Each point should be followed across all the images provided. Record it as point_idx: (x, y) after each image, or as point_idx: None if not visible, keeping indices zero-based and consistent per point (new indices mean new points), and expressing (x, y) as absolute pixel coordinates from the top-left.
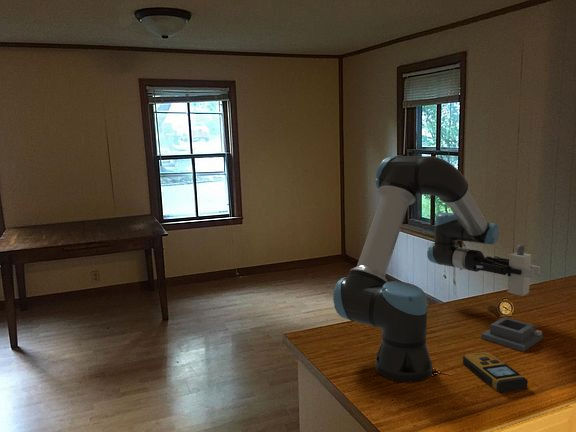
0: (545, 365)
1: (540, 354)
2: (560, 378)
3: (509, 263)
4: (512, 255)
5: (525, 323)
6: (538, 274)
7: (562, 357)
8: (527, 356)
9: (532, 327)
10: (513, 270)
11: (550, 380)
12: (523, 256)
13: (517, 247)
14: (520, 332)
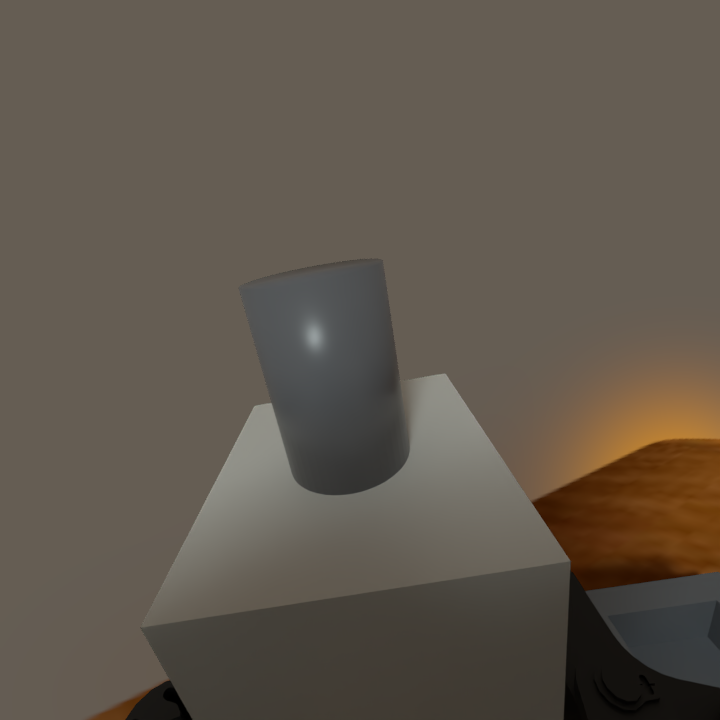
0: (673, 502)
1: (639, 547)
2: (672, 456)
3: (557, 717)
4: (526, 504)
5: None
6: None
7: (570, 506)
8: (713, 562)
9: (591, 593)
10: (587, 606)
11: (713, 460)
12: (429, 390)
13: (363, 323)
14: (718, 580)
